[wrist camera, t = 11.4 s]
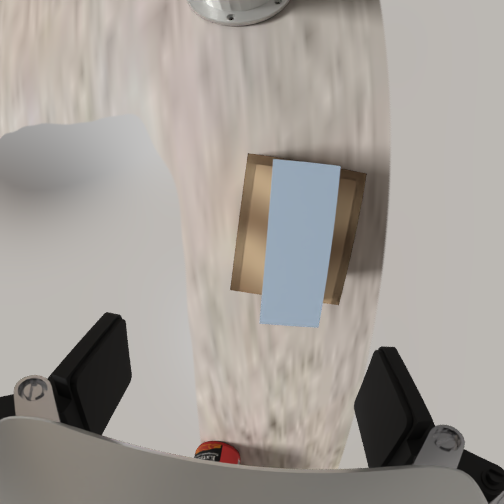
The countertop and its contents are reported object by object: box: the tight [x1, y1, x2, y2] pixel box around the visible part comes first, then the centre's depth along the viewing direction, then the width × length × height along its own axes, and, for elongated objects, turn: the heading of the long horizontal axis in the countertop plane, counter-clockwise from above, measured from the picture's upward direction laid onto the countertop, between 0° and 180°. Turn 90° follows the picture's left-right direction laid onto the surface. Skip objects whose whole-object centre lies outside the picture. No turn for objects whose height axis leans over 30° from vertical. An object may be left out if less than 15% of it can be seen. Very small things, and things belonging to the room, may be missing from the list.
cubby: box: [230, 153, 367, 305], centre depth 31 cm, size 12×10×8 cm
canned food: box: [194, 441, 240, 465], centre depth 41 cm, size 8×8×11 cm
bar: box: [260, 159, 341, 327], centre depth 24 cm, size 12×4×5 cm, turn 176°
